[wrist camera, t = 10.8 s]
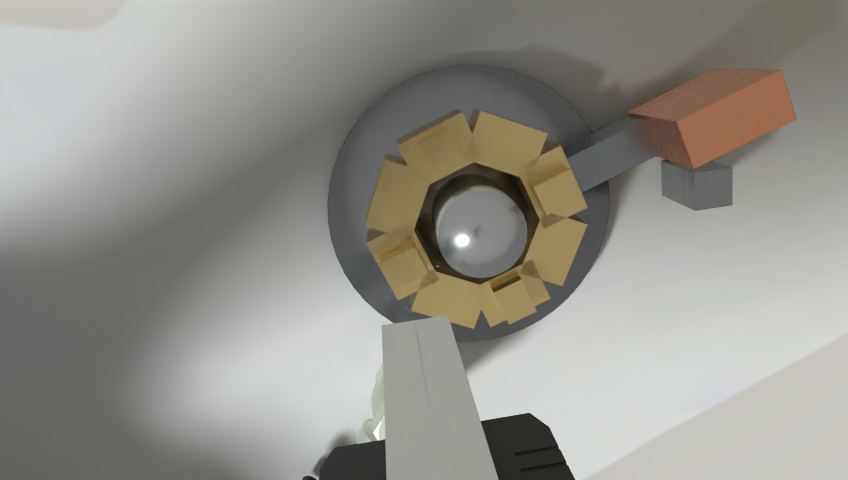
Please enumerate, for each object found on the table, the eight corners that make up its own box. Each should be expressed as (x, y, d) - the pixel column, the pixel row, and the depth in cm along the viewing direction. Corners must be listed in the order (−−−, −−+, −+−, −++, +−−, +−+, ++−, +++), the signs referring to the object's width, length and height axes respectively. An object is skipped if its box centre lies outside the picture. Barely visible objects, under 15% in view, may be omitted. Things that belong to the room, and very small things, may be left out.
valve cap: (383, 367, 38) (382, 420, 32) (287, 120, 34) (266, 131, 28) (629, 287, 38) (673, 327, 32) (565, 24, 33) (601, 16, 27)
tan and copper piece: (426, 336, 36) (433, 388, 31) (335, 170, 33) (323, 192, 28) (750, 179, 35) (822, 202, 29) (685, -9, 32) (750, -26, 26)
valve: (376, 322, 38) (287, 471, 40) (373, 374, 31) (268, 548, 34) (468, 368, 39) (376, 510, 41) (483, 427, 32) (374, 591, 35)
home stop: (662, 195, 36) (695, 210, 32) (661, 161, 36) (694, 173, 32) (695, 190, 36) (732, 205, 32) (695, 156, 36) (732, 167, 32)
